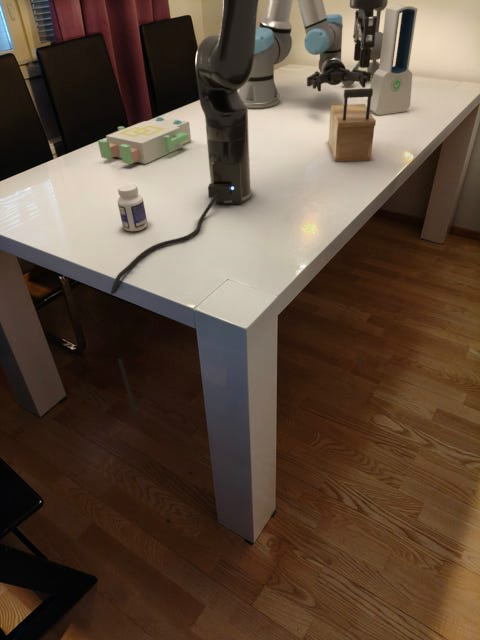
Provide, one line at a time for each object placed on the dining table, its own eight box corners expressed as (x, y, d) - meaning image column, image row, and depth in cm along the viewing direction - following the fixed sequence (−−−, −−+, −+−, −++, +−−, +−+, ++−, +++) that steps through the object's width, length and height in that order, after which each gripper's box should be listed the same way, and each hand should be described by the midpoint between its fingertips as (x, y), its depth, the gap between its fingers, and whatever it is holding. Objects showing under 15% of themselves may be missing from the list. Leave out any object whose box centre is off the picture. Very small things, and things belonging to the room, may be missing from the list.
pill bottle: (149, 220, 107) (142, 181, 102) (146, 231, 103) (138, 191, 98) (125, 221, 107) (116, 182, 102) (121, 232, 103) (112, 193, 98)
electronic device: (375, 115, 160) (388, 8, 142) (365, 110, 166) (376, 6, 148) (409, 111, 163) (426, 4, 144) (398, 105, 168) (413, 2, 150)
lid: (375, 125, 123) (379, 90, 118) (338, 127, 124) (340, 92, 119) (364, 108, 136) (367, 75, 131) (330, 109, 137) (332, 77, 132)
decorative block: (150, 112, 153) (199, 120, 143) (154, 133, 157) (201, 142, 147) (87, 135, 137) (137, 147, 127) (92, 158, 141) (141, 171, 131)
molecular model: (328, 81, 202) (333, -6, 184) (375, 74, 207) (385, -11, 188) (355, 93, 184) (363, -1, 166) (406, 86, 189) (420, -7, 170)
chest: (370, 160, 130) (374, 125, 124) (335, 161, 130) (337, 126, 125) (360, 141, 142) (364, 108, 136) (328, 142, 142) (330, 109, 137)
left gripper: (393, -17, 101) (382, 69, 111) (379, -21, 112) (371, 57, 122) (356, -15, 102) (349, 71, 111) (346, -20, 113) (341, 59, 123)
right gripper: (369, 80, 168) (381, 94, 151) (297, 86, 170) (301, 100, 153) (371, 55, 164) (384, 67, 147) (296, 62, 166) (301, 74, 149)
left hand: (361, 63), depth 117 cm, fingers open, 8 cm apart
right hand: (341, 84), depth 150 cm, fingers open, 13 cm apart
